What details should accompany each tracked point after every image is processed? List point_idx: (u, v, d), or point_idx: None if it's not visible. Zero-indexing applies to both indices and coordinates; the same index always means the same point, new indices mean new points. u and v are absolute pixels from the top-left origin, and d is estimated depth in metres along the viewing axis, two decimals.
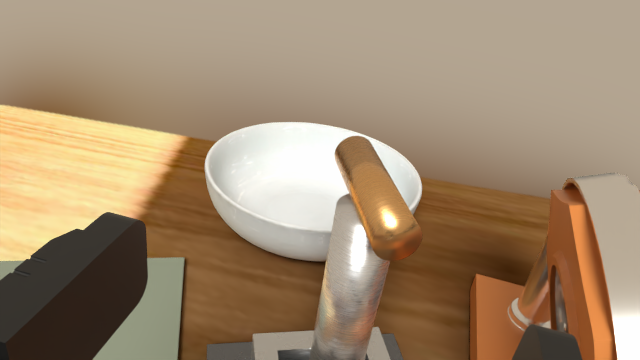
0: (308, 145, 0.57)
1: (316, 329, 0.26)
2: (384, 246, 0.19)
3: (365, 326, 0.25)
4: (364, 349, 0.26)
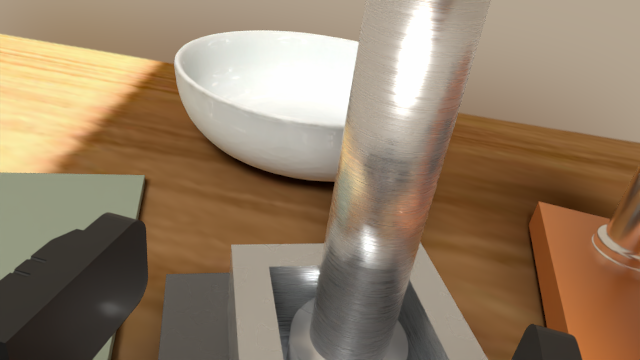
0: (309, 62, 0.46)
1: (335, 202, 0.15)
2: None
3: (426, 185, 0.14)
4: (418, 236, 0.15)
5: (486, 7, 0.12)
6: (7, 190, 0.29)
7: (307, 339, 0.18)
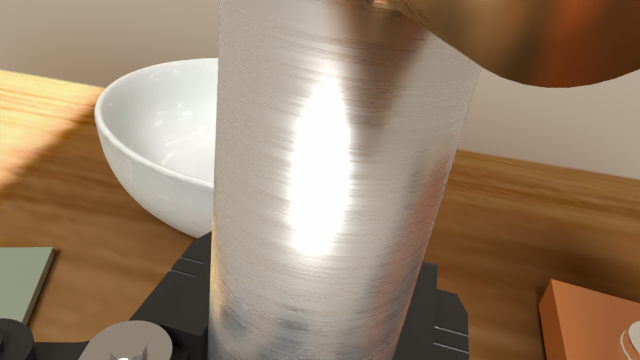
0: None
1: None
2: None
3: None
4: None
5: (456, 134, 0.05)
6: None
7: None
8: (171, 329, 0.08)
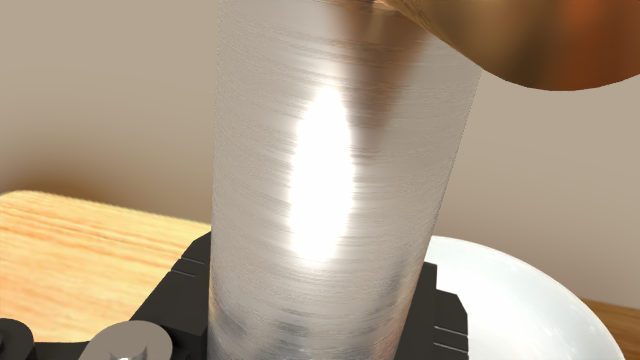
0: None
1: None
2: None
3: None
4: None
5: (457, 136, 0.05)
6: None
7: None
8: (171, 329, 0.08)
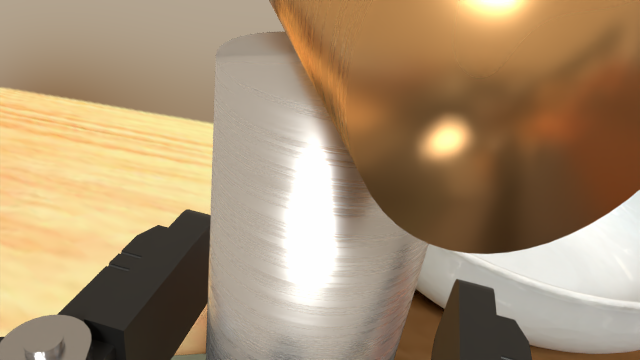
0: None
1: None
2: (445, 137, 0.02)
3: None
4: None
5: None
6: None
7: None
8: (95, 323, 0.08)
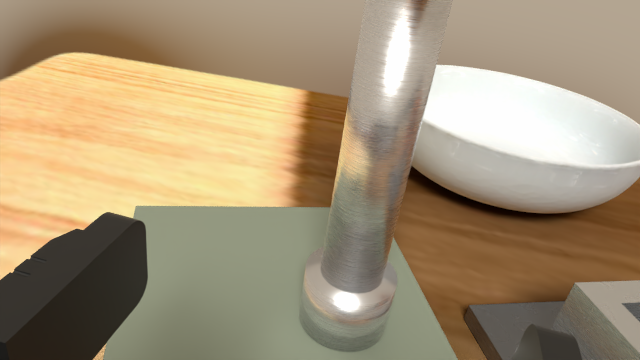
0: (465, 93, 0.49)
1: (341, 161, 0.20)
2: None
3: (407, 145, 0.19)
4: (402, 186, 0.20)
5: (445, 18, 0.17)
6: (277, 224, 0.31)
7: (319, 273, 0.23)
8: None
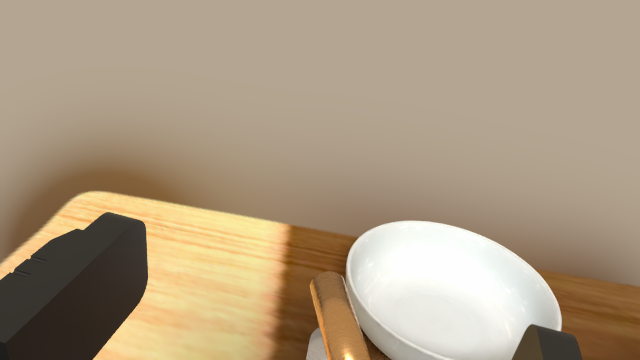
0: (421, 242, 0.58)
1: None
2: None
3: None
4: None
5: None
6: None
7: None
8: None
